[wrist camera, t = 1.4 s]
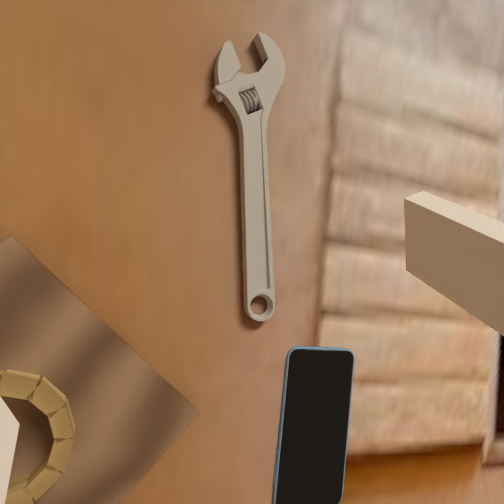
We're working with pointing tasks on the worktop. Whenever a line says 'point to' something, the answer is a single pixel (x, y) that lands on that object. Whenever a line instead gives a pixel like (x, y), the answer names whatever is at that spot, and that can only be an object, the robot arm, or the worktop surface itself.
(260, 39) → the adjustable wrench
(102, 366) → the socket plate
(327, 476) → the smartphone
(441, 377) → the worktop surface
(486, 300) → the robot arm
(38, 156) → the worktop surface
